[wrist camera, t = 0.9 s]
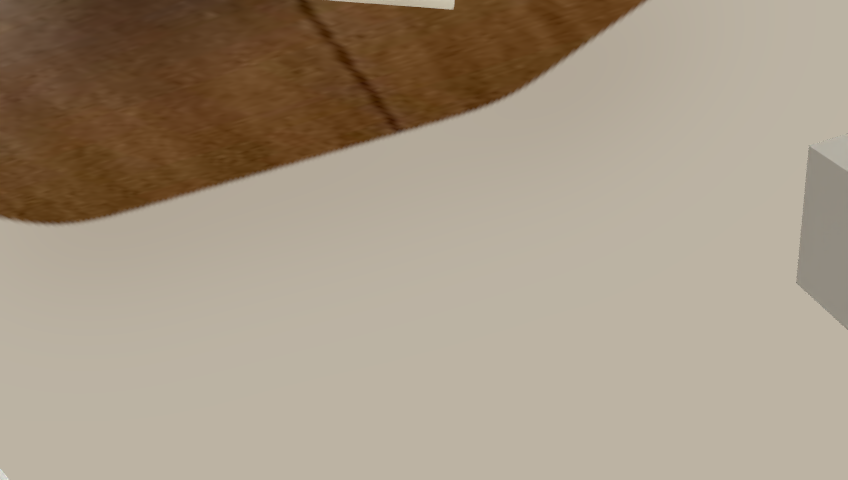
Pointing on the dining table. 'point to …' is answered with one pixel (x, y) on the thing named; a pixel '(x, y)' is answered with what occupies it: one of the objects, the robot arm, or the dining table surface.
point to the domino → (411, 3)
